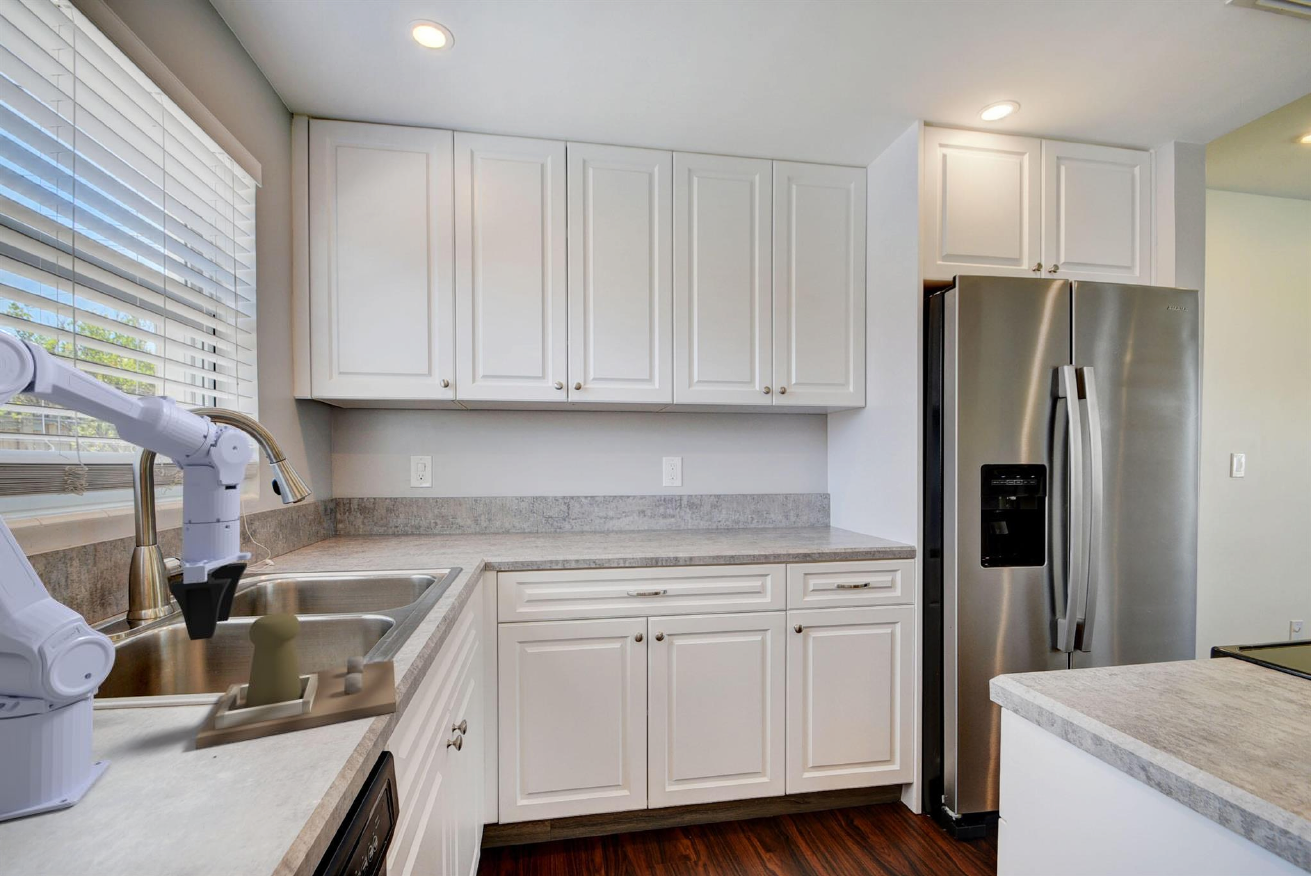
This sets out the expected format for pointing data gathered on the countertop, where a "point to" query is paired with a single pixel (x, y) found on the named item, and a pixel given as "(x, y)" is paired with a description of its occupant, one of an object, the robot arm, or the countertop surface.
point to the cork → (274, 661)
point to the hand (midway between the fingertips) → (210, 629)
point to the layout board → (305, 704)
